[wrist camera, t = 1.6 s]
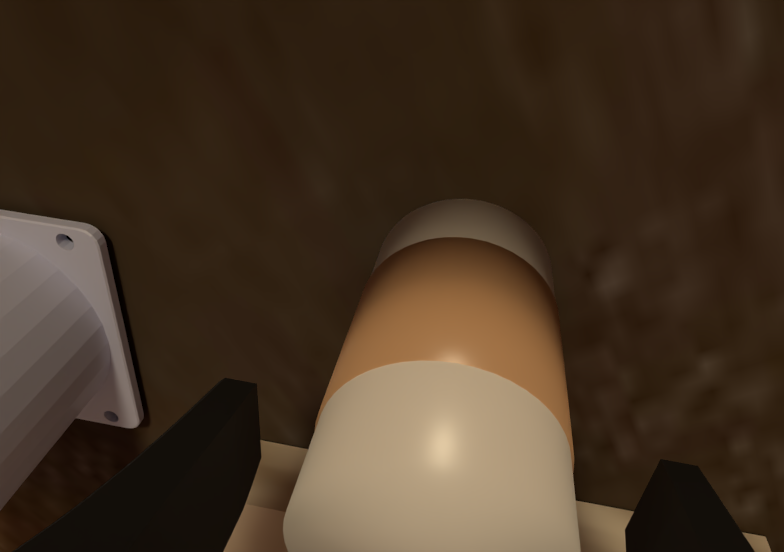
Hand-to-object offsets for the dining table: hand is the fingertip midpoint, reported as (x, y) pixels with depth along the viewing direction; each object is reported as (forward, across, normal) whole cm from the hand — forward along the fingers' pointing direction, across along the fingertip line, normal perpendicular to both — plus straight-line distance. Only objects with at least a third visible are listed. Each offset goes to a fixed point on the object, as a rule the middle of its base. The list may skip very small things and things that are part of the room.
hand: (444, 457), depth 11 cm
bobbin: (+6, 0, 0) cm, 6 cm away
